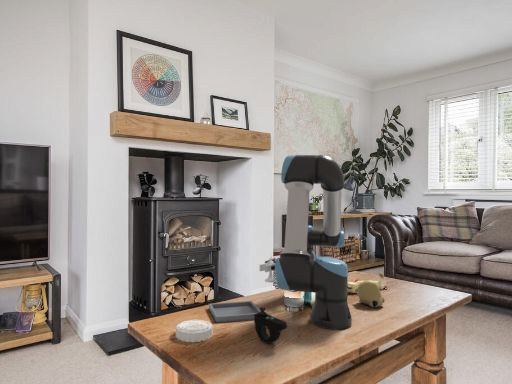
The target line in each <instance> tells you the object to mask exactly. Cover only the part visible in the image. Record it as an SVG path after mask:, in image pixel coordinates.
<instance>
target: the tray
mask: <svg viewBox="0 0 512 384" xmlns="http://www.w3.org/2000/svg"><path fill="white" fill-rule="evenodd" d="M259 308H260V307H258V305H256V304H255V303H254V301H253V300H245V301H232V302H231V301H229V302H217V303H216V302H215V303H208V310H209V312H210V314H211V316H212V318H213V320H214V321H215V323H216V324H217V323H218V324H219V323H228V322H229V323H230V322H243V321H252V320H253V321H254V317H255V316H254V314H256V313H259V312H260V311H261V310H259Z"/></svg>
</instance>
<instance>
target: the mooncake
mask: <svg viewBox="0 0 512 384" xmlns="http://www.w3.org/2000/svg"><path fill="white" fill-rule="evenodd" d="M213 327H214V326H213V323H211V322H210V321H206V320H202V319H190V320H184V321H182V322H179V323H178V324H177V325H176V326H175V338H176V339H177V340H178V341H181V342H186V343H200V342H204V341H206V340H209V339H210V338H212V336H213V334H214V333H213V331H214V328H213Z"/></svg>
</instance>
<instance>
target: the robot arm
mask: <svg viewBox="0 0 512 384" xmlns="http://www.w3.org/2000/svg"><path fill="white" fill-rule="evenodd" d="M280 178H281V179H280V180H281V183H283V185H284V188H285V189H286V190H287V202H286V203H287V205H286V221H285V234H284V236H285V237H284V249H283V250H282V251H281V252H280V253H279V257H277V258H274V257H272V258H273V259H272V261H273V264H269V261H270V260H269V259H268V260H264V263H260V264H259V272H263V271H264V272H265V273H269V271H272V272H273V271H274V272H275V273H274V274H275V279H276V282H275V283H276V285H277V287H278V288H279V289H280V290H282V291H283V290H284V291H289V292H292V291H293V292H301V293H302V292H304V293H305V292H306V293H314V302H313V305H312V307H311V310H310V313H309V323H311V324H312V325H314V326H316V327H319V328H323V329H329V330H343V329H347V328H351V326H352V325H353V324H352V322H353V320H352V319H353V318H352V317H353V316H352V315H351V310H350V306H349V304H348V293H347V282H348V277H349V273H348V272H349V271H348V270H349V269H348V265H347V263H346V261H344V260H341V259H338V258H335V257H330V256H316V253H315V251H314V250H313V247H328V248H343V247H344V246H345V232H344V231H343V230H341V223H342V220H341V219H342V217H341V215H342V190H343V189H344V188H345V176H344V173H343V171H342V168H341V166H340V165H339V164H338V163H337V162H336V160H334V159H333V158H332V157H330V156H328V155H325V154H324V155H323V154H317V155H316V154H295V155H292V154H291V155H287V156H286V157H285V158H284V159H283V163H282V167H281V175H280ZM314 184H315V185H316V184H317V185H319V184H320V187H321V189H322V192H323V193H322V196H323V198H322V201H323V209H322V210H323V214H322V215H323V219H322V221H323V222H322V223H323V229H314V227H313V226H312V225H309V211H310V210H309V209H310V192H311V191H312V190H313V189H314Z"/></svg>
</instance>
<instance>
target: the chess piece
mask: <svg viewBox="0 0 512 384" xmlns="http://www.w3.org/2000/svg"><path fill="white" fill-rule="evenodd" d="M273 258H274V257H272V256H270V258H268V260H270V261H269V264H273V261H272V259H273ZM264 282H265V283H277V282H276V277H275V278H274V276H273V271H269V272H268V276H267V277H266V278H264Z"/></svg>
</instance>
